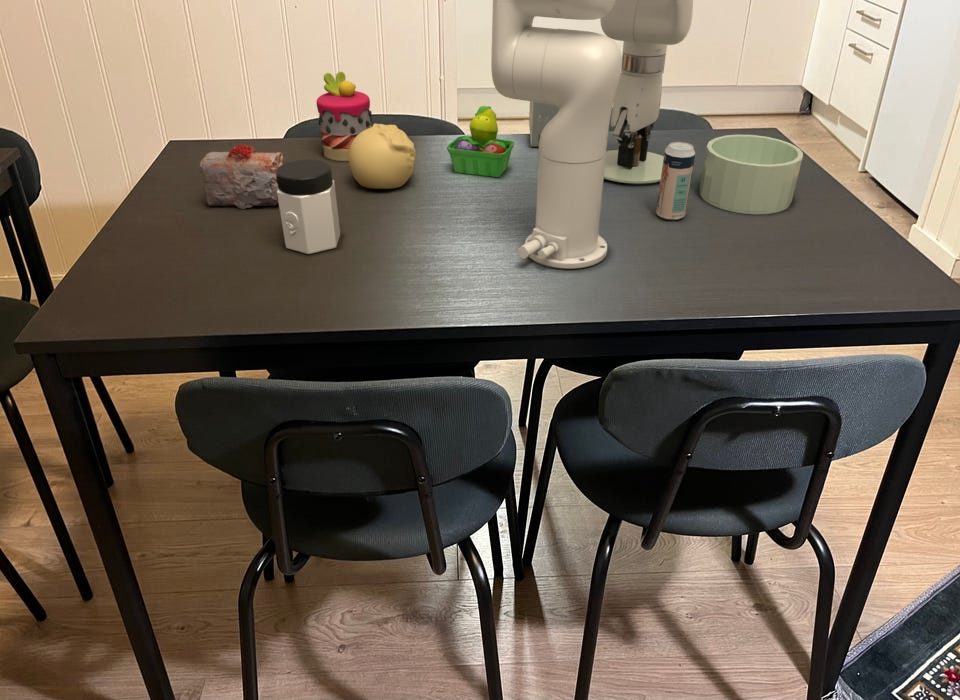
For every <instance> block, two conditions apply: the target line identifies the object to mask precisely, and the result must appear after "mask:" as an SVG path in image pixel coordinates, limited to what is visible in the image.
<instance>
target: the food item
mask: <svg viewBox="0 0 960 700" xmlns="http://www.w3.org/2000/svg"><path fill="white" fill-rule="evenodd" d="M232 148H233V149H232V150H231V151H221V152H220V151H210V152H208V153H206V154H205V155H204V156H203V157H202V159H201V160H200V162H199V170H200V174H201V177H202V182H203V187H204V191H205V195H206V196H205V197H206V202H207V203H206V204H208V207H217V206H219V207H237V208H238V209H241V210H245V209H249V208H252V207H254V206H255V207H269V206H271V207H273V206H274V207H275V206H276V205H277V204H279V202H278V196H277V191H278V189H279V188H278V184H277V180H276V170H277V168H278V167H280V166H281V165H283V164H284V162H283V161H284V155H283V153H282V152H281V151H279V152H255V147H254V146H251V145H246V144H244V143H243V144H238V145H234V146H233V147H232Z"/></svg>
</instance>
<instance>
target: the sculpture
mask: <svg viewBox="0 0 960 700" xmlns="http://www.w3.org/2000/svg"><path fill="white" fill-rule="evenodd" d="M416 152H417V151H416V148H415V144H414V142H413V141H412V140H411V139H410V138H409V137H408V135H407V133H406V132H405V131H403V130H402V129H399V128H398V126H397V125H396V124H383V123H373V125H371V128H368V129H366V130H364V131H362V132H361V133H359V134H358V135H357V136H356V137H355V139H354V140H353V142H352V144H351V147H350V151H349V161H348V164H349V168H350V171H351V174H352V176H353V178H354V180H355V181H356V183H358V184H359V185H360V186H361V187H364V188H368V189H376V190H389V189H397V188H401V187H403V185H405V184H406V183H407V182H408V181H409V179H410V177H411V176H412V175H413V172H414V165H415V160H416V157H417V155H416V154H417V153H416Z"/></svg>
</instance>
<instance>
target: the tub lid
mask: <svg viewBox="0 0 960 700" xmlns="http://www.w3.org/2000/svg"><path fill="white" fill-rule="evenodd" d="M626 135H627V136H628V137H629V138H630V133H627V134H626ZM641 142H642V135H639V134H636V136H635V141H634V146H633V147H635V156H634V164H633V168H631V169H629V168H626V167H622V166H618V165H617V159H618V150H619V149H612V150H611V149H610V150H606V160H605V170H604V180H608V181H612V182H617V183H624V184H637V185H638V184H639V185H640V184H653V183H658V182H659V183H660V181H661V174H662V167H663V160H664V155H661V154H658V153H656V152H650V151H647V157H646V161H644V162H642V161H639V159H640V151H641Z"/></svg>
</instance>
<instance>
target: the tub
mask: <svg viewBox="0 0 960 700" xmlns="http://www.w3.org/2000/svg"><path fill="white" fill-rule="evenodd" d="M704 153H705V154H704V159H703V160H704V161H703V164H702V165H703V166H702V172H701V178H700V183H699V189H698V190H699V191H698V192H699V196H700V198H701V199H702V200H703V201H705V203H708V204H709V205H711V206H712V207H713V206H714V207H715V208H718V209H721V210H724V211H728V212H732V213H736V214H737V213H738V214H745V215H770V214H777V213H780V212H783V211H785V210H787V209H788V208H789V207H790V206H791V204H792V201H793V198H794V193H795V190H796V186H797V181H798V177H799V174H800V169H801V165H802V161H803V157H804V153H803V151H802V150H801V149H800V148H799V147H798V146H796V145H794V144H793V143H790V142H787V141H785V140H781V139H778V138H774V137H770V136H764V135H757V134H756V135H755V134H728V135H722V136H718V137H714V138H712V139H711V140H709V141H708V142H707V145H706V148H705V152H704Z"/></svg>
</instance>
